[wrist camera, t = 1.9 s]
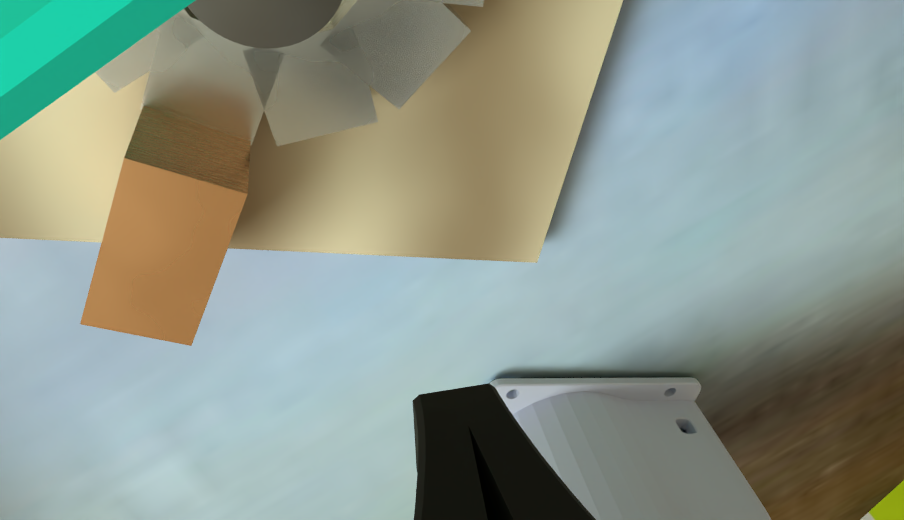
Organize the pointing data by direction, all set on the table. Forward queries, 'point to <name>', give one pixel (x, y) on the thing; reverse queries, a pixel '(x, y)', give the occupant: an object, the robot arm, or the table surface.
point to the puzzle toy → (889, 506)
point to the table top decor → (65, 46)
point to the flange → (236, 141)
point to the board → (355, 143)
